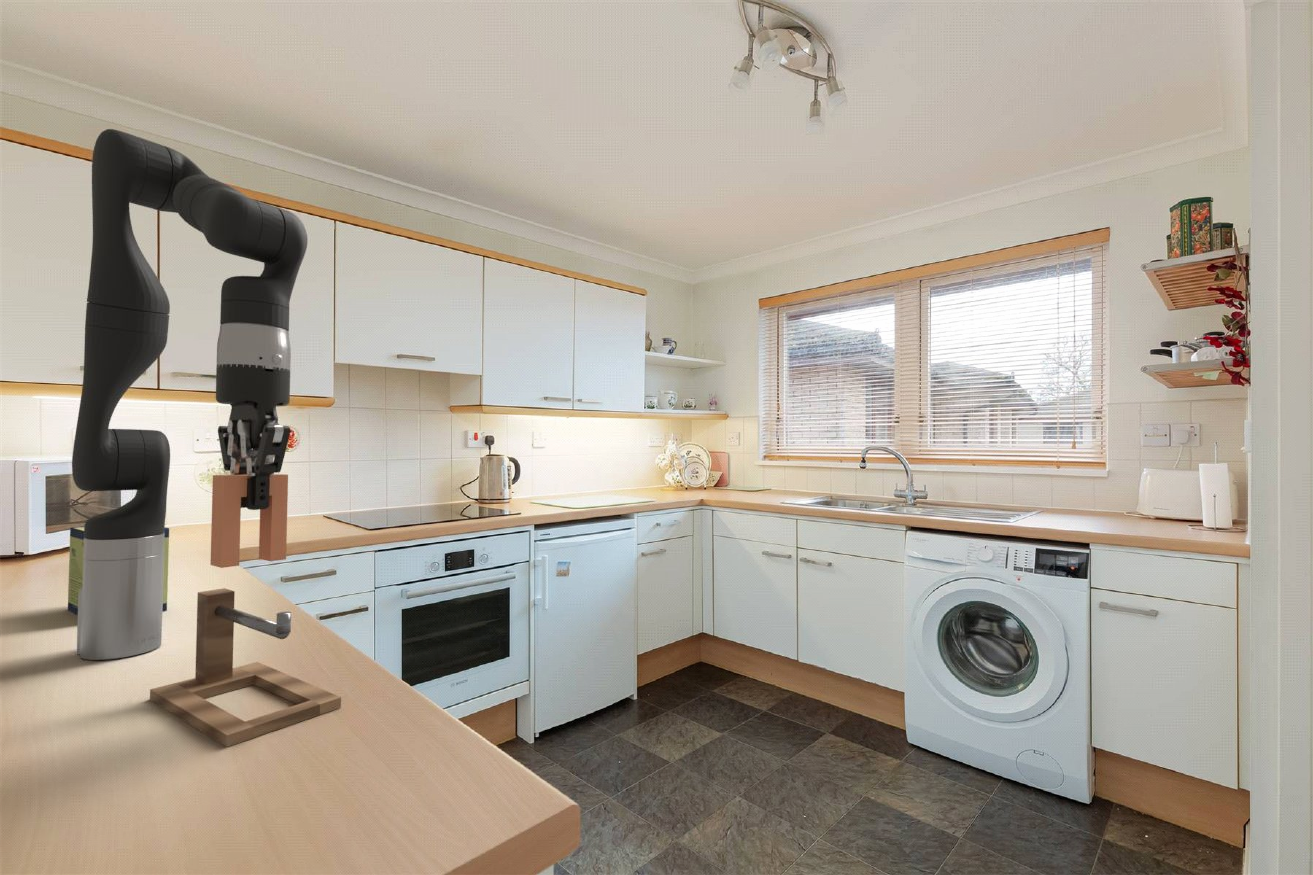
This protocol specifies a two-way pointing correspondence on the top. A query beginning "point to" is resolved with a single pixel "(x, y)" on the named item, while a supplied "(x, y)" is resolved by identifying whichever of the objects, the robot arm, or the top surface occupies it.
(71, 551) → the protein box
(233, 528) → the salmon wooden arch
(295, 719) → the wooden hook stand
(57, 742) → the top surface
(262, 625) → the hook arm
